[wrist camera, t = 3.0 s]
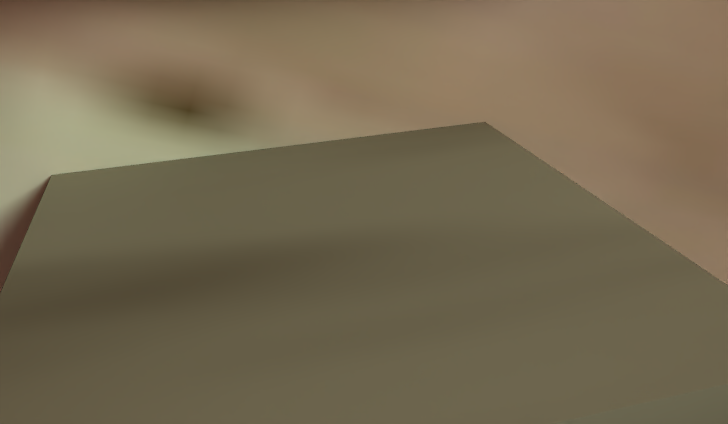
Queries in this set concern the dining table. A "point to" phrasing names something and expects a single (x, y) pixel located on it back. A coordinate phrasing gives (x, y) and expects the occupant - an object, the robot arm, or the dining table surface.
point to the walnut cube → (354, 294)
